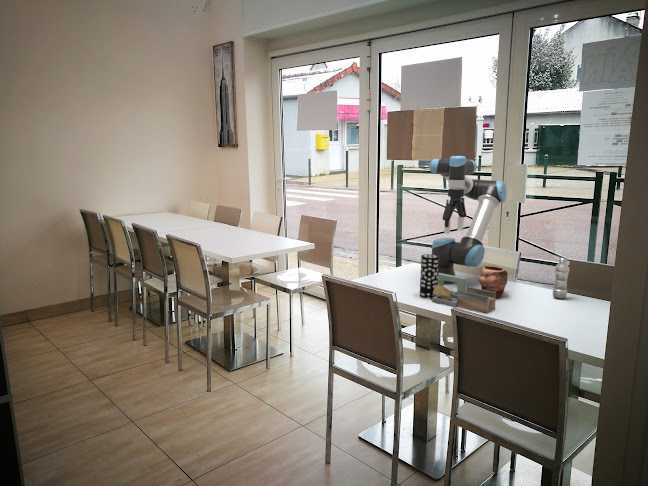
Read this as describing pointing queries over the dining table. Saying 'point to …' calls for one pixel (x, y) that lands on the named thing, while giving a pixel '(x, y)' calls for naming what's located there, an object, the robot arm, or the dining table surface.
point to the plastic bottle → (561, 278)
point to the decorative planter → (493, 280)
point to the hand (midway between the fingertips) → (453, 232)
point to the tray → (449, 303)
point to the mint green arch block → (451, 278)
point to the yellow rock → (438, 290)
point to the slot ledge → (476, 300)
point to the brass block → (446, 294)
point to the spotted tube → (428, 275)
